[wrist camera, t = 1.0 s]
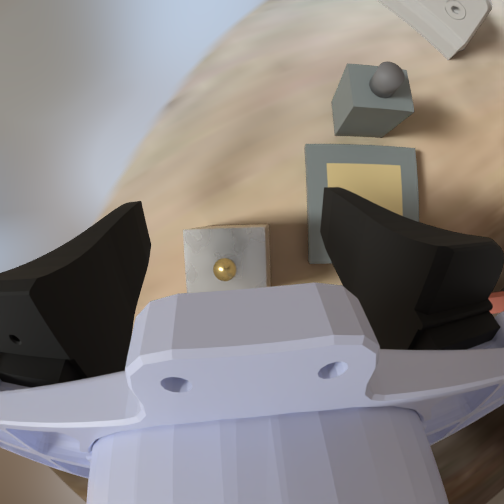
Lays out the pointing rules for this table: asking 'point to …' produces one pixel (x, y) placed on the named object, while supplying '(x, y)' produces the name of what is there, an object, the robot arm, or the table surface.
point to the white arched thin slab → (442, 20)
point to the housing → (227, 257)
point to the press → (364, 149)
